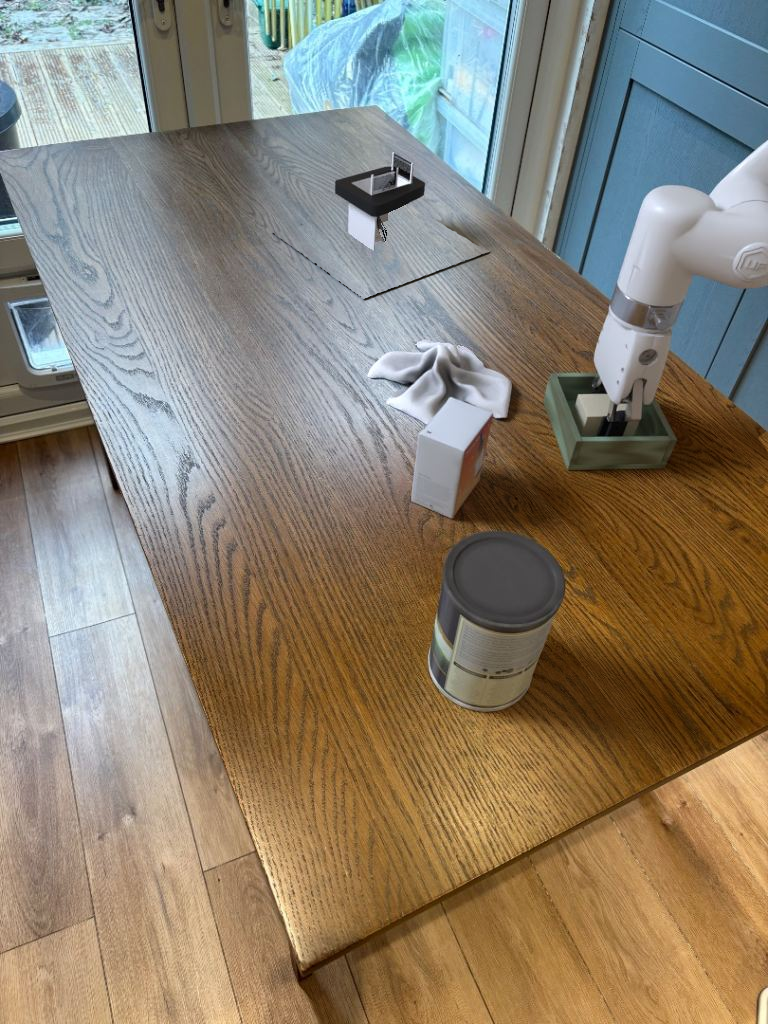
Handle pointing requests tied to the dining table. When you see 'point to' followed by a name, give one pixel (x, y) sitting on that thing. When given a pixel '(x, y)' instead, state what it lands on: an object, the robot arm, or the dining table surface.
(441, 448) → the small box
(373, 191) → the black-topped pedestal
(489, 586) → the coffee can
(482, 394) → the cloth
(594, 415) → the cream rectangular block
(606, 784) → the dining table surface
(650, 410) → the holder
